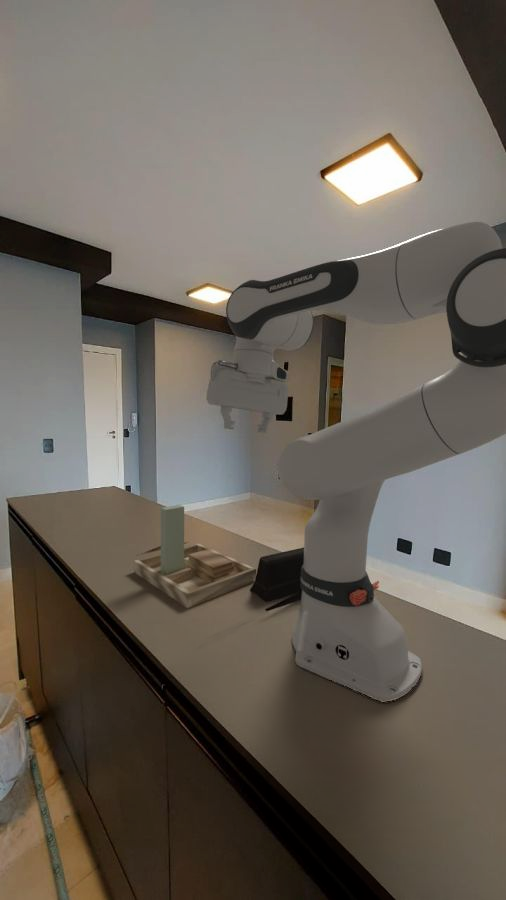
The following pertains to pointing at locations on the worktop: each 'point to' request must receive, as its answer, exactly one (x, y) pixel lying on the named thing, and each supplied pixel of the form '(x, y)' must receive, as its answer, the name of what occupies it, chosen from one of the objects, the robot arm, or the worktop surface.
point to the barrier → (279, 577)
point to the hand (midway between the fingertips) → (246, 430)
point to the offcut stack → (209, 566)
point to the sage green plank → (172, 539)
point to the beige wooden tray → (192, 578)
